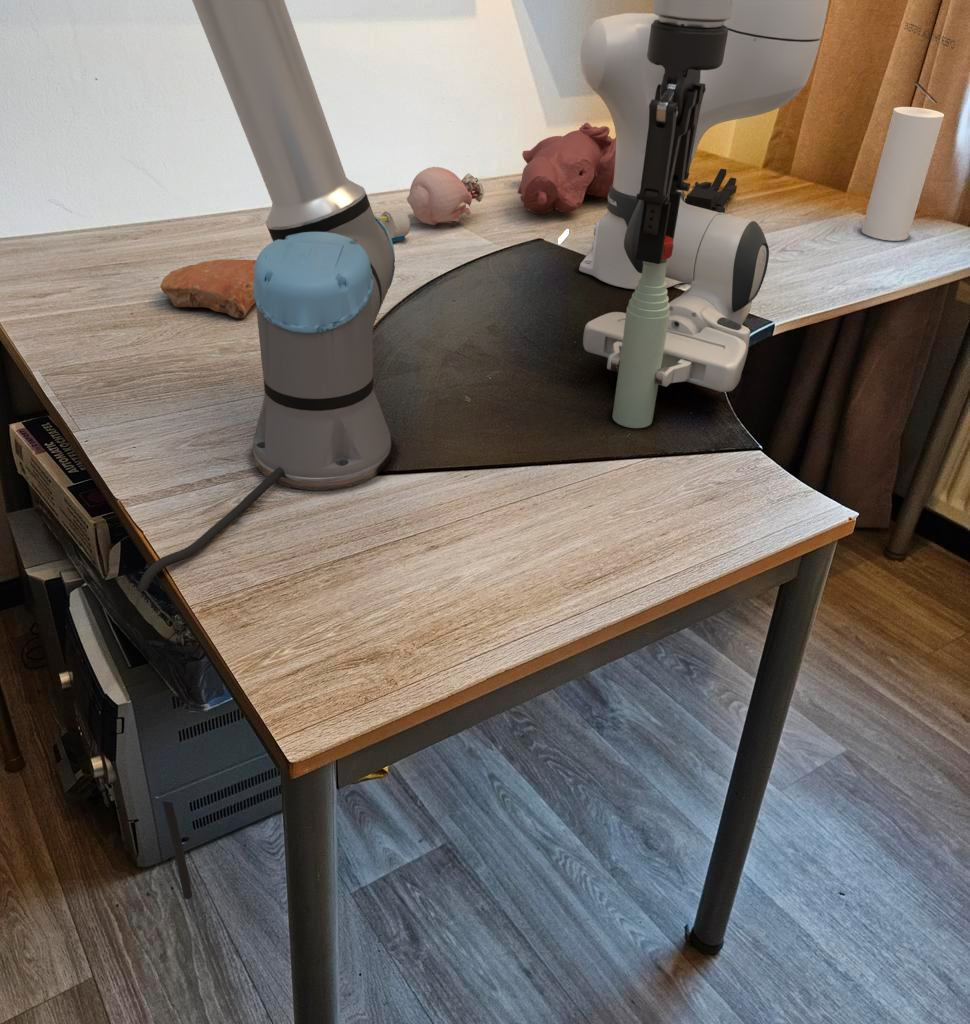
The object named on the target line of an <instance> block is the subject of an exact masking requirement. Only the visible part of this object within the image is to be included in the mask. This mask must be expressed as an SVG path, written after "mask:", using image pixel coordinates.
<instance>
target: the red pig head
mask: <svg viewBox="0 0 970 1024" xmlns="http://www.w3.org/2000/svg"><path fill="white" fill-rule="evenodd" d="M610 130H611V129H610V127H608V126H607V125H605V126H604V125H602V126H600V127H598V126H592V125H591V124H590V123H589V122H585V123H584V124H581V126H580V127H579V129H576V130H573V131H570V132H568V133H566V134H565V135H554V136H549V137H546V138H544V139H542V140H540V141H539V142H538V143H536V145H535V146H534V147H532V148H531V149H529V150H523V151H522V153H521V156H522V158H523V160H524V162H525V163H526V164H525V166H524V168H523V170H522V172H521V173H522V174H521V180H520V181H521V182H520V185H519V186H518V189H517V194H518V195H520V200H521V202H522V203H523V207H524V209H525V210H529V211H530V212H532V213H535V214H546V213H549V212H551V211H552V210H553V209H554V208H555V209H556V210H557V211H559V212H560V213H564V214H569V213H573V212H575V211H578V209H579V208H581V206H582V203H584V199H585V195H591V196H593V197H596V198H599V197H604V198H606V197H607V198H608V194H609V190H610V186H611V185H612V184H613V180H614V169H615V156H616V136H614V138H612V137H611V136H610V135H609V134H610Z"/></svg>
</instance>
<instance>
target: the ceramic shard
mask: <svg viewBox="0 0 970 1024" xmlns="http://www.w3.org/2000/svg"><path fill="white" fill-rule="evenodd" d="M255 262H256V259H214V260H208V261H202V262H199V263H196V264H190V265H185V266H182V267H180V268H178V269H174V270H171V271H170V272H169V273H168V274H167V275H165V276H164V278H163V279H162V281H161V283H160V289H161V291H162V292H163V293H164V294H165V295H166V296H167V297H168V299H169V300H170V302H171V303H172V305H173V306H174V307H175V308H206V309H207V308H208V309H210V310H212V311H214V312H216V313H217V312H218V313H224V314H227V315H228V316H230V317H233V318H235V319H242V318H244V317H245V316H246V315H247V314H248V312H249V311H250V310H251V308H252V307H253V306H254V305H255V304H256V303H255V299H254V291H253V281H254V267H255Z"/></svg>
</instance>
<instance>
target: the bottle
mask: <svg viewBox="0 0 970 1024" xmlns="http://www.w3.org/2000/svg"><path fill="white" fill-rule="evenodd" d="M667 266H668V261H667V260H666V259H665V260H662V261H661V263H660V264H655V263H650V262H645V261H643V271H642V278H641V279H640V280H639V282H638V285H637V286H636V288H635V289H634V291H633V292H632V294H631V298H630V299H629V300H628V305H627V306H626V312H625V313H626V319H625V326H624V334H623V341H622V349H621V356H620V364H619V371H618V372H617V380H616V386H615V394H614V401H613V408H612V409H613V410H612V417H611V418H612V420H613V421H614V422H615V423H616V424H618V425H620V426H622V427H625V428H630V429H644V428H647V427H649V426H650V425H651V424H652V423H653V419H654V413H655V408H656V401H657V396H658V388H659V385H658V384H655V379H656V376H655V375H656V372H657V370H658V369H660V368H661V365H662V358H663V352H664V346H665V340H666V334H667V327H668V321H669V315H670V311H669V308H670V304H669V303H670V302H669V299H670V298H669V296H668V288H666V282H665V281H664V280H665V274H666V267H667Z"/></svg>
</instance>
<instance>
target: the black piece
mask: <svg viewBox="0 0 970 1024" xmlns="http://www.w3.org/2000/svg"><path fill="white" fill-rule="evenodd" d="M727 171H728V170H727V169H726V168H720V169H719V171H718V173H717V175H716V177H715V178H714V180H713V182H710V181H704V182H700V183H699V184H697V185H695V184H694V187H693V188H692V190H691V191H690V192H688V193H687V195H686V196H685V198H684V201H685V203H686V204H689V205H692V206H696V207H700V208H704V209H708V210H712V211H715V212H719V213H720V212H722V213H725V212H726V204H727V203H728V201H729V199H730V198H731V197H732V196H734V195H735V194H736V193H737V188H738V185H736V182H737V177H732V176H731V177H730V178H729V179H728V180H727V182H726V183H725V185H724V187H723V188H722V190H719V189H720V188H721V186H722V184H723V181H724V180H725V178H726V176H727Z"/></svg>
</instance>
